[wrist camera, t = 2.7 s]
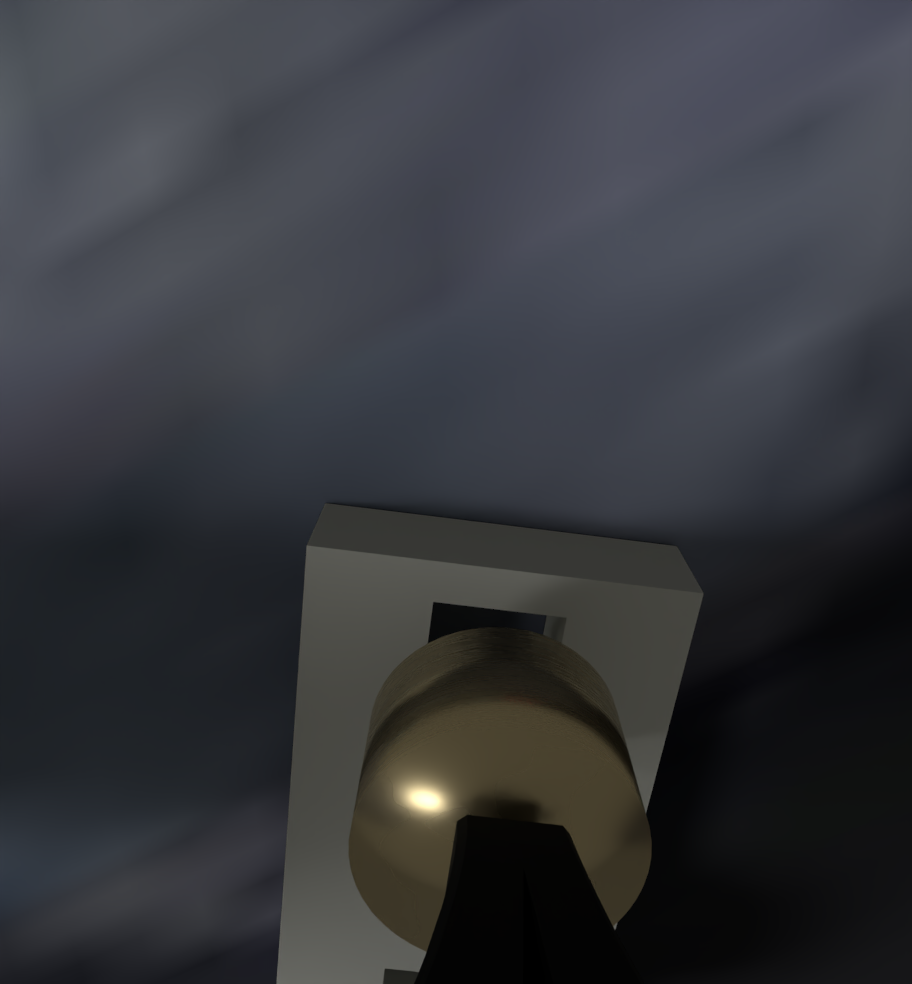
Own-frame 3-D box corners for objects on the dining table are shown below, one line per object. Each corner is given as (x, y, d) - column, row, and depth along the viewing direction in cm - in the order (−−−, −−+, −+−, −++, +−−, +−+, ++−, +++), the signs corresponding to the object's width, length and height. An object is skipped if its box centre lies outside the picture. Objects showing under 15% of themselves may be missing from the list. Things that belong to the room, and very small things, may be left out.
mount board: (325, 503, 16) (307, 545, 14) (676, 545, 16) (703, 593, 15) (272, 1202, 24) (255, 1288, 22) (511, 1225, 24) (514, 1312, 22)
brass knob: (332, 664, 15) (285, 832, 11) (515, 538, 14) (533, 674, 10) (470, 809, 16) (471, 1006, 12) (648, 701, 15) (709, 878, 11)
